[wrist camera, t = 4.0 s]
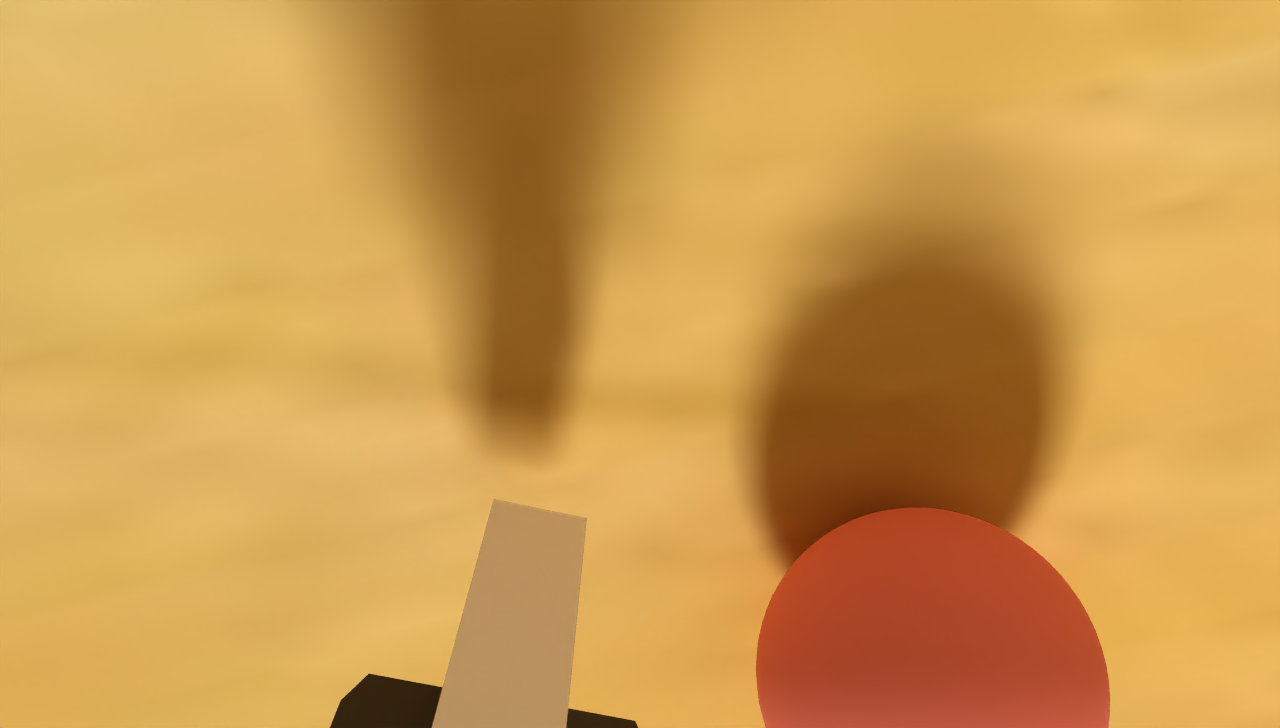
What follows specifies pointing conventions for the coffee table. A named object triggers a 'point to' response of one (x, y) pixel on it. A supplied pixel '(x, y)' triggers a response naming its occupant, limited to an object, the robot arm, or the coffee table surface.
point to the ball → (928, 632)
